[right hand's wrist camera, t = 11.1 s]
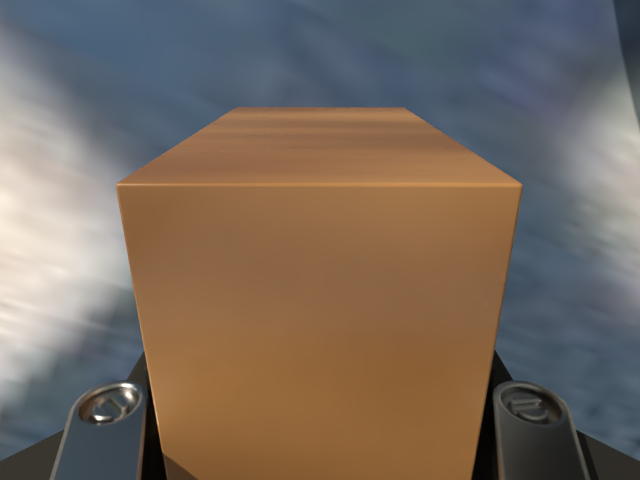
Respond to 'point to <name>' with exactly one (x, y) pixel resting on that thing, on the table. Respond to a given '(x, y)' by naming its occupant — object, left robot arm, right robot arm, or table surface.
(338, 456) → the beam
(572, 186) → the table surface
